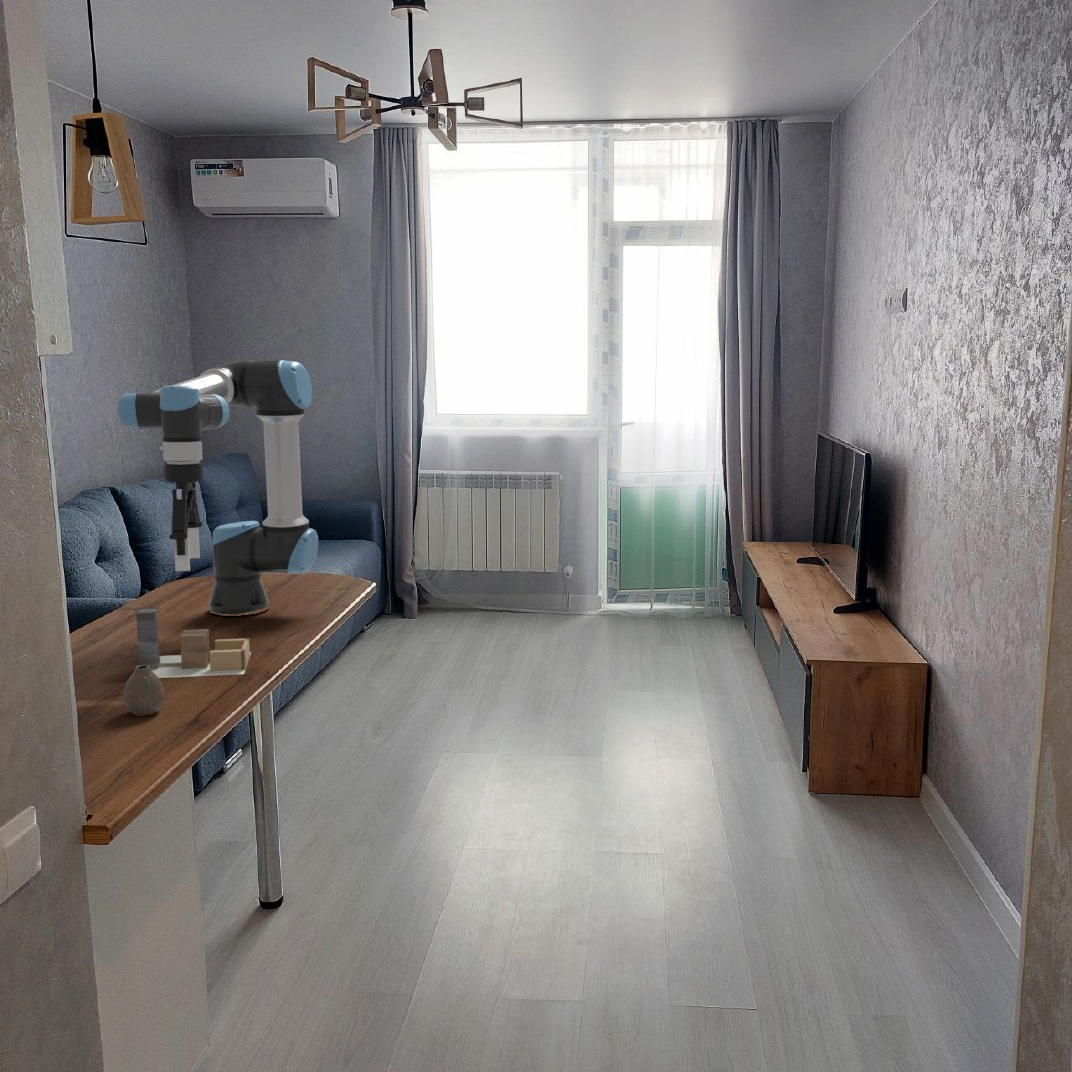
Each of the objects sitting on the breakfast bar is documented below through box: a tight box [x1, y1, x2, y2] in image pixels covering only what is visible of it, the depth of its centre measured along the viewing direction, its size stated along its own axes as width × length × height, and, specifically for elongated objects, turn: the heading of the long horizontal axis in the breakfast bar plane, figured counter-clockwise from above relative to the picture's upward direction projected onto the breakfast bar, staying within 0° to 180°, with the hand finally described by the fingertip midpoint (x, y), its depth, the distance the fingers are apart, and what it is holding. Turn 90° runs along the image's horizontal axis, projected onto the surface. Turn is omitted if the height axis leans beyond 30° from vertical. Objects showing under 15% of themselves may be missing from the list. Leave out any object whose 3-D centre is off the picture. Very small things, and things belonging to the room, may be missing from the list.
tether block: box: [135, 608, 211, 669], centre depth 209 cm, size 5×14×12 cm, turn 101°
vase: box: [123, 665, 165, 717], centre depth 184 cm, size 7×7×9 cm
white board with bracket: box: [151, 637, 252, 679], centre depth 211 cm, size 16×22×5 cm
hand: (188, 564), depth 207 cm, fingers open, 13 cm apart
